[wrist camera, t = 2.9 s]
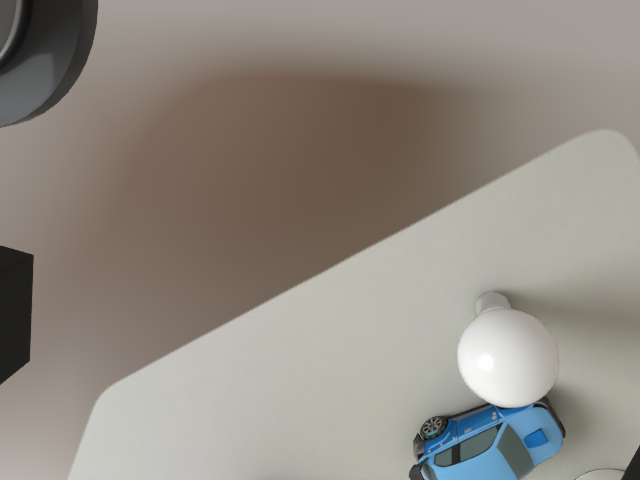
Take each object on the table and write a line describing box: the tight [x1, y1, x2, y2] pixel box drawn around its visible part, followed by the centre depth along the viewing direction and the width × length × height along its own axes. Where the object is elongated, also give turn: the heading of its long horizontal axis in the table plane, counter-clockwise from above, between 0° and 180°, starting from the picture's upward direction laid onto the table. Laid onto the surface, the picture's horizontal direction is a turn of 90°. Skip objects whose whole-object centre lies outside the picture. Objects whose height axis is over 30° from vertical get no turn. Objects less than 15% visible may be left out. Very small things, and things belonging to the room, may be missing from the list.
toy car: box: [409, 396, 565, 480], centre depth 45 cm, size 6×12×6 cm, turn 123°
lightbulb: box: [457, 292, 560, 408], centre depth 38 cm, size 6×6×11 cm
